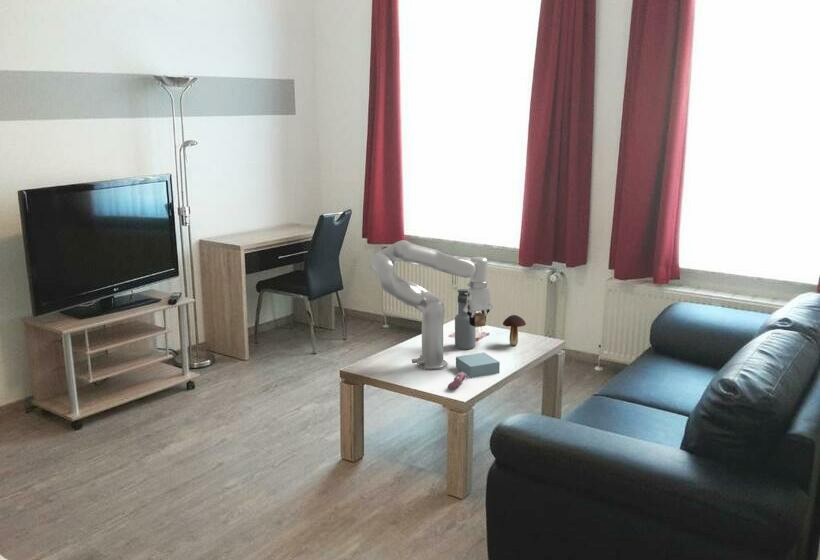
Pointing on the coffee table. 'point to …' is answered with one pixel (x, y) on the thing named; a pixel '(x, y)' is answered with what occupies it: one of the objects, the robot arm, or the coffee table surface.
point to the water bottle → (463, 324)
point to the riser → (477, 365)
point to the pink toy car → (457, 380)
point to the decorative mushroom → (514, 327)
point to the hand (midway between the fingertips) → (477, 324)
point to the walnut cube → (479, 319)
